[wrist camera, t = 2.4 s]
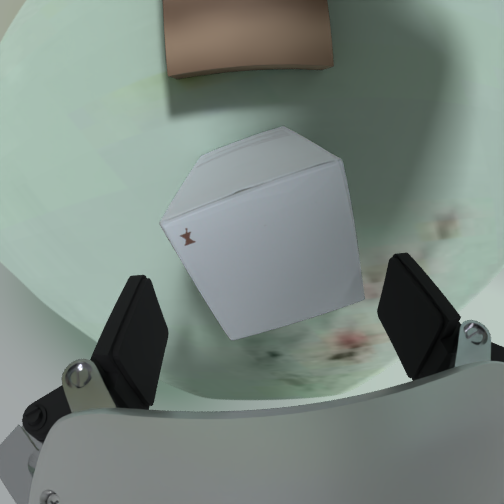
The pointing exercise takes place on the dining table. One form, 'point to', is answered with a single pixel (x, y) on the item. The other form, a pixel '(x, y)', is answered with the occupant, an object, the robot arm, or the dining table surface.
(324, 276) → the supplement box
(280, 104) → the dining table surface
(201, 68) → the walnut base
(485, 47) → the dining table surface
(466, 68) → the dining table surface
